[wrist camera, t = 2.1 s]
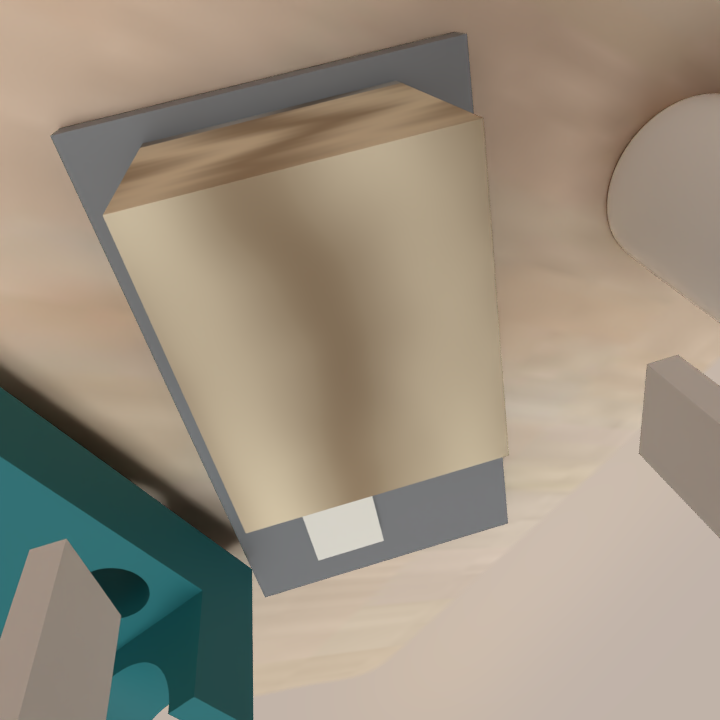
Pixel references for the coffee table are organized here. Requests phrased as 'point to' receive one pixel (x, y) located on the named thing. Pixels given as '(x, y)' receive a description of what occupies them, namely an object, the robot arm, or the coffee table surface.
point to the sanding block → (324, 294)
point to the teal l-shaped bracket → (130, 574)
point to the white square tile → (344, 528)
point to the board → (95, 189)
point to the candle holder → (673, 199)
